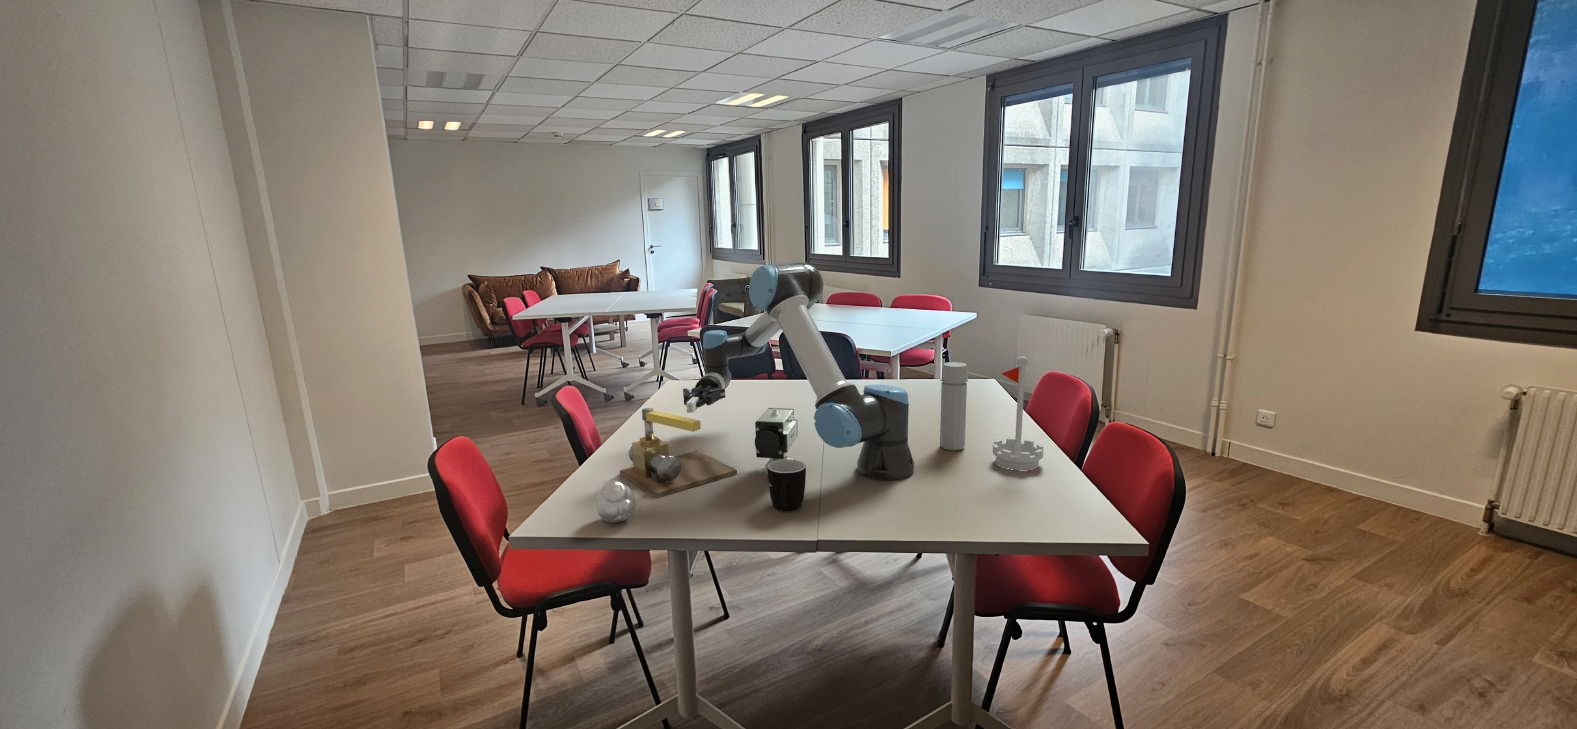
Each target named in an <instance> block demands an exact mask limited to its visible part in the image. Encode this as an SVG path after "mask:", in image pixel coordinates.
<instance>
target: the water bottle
mask: <svg viewBox="0 0 1577 729" xmlns="http://www.w3.org/2000/svg"><path fill="white" fill-rule="evenodd" d="M968 377H969V376H968V364H966V363H965V362H959V361H958V362H956V361H955V362H954V361H950V362H944V363H943V367H942V374H941V379H939V380H940V382H941V388H940V391H941V392H940V397H941V398H940V430H939V445H940V447H941V448H942V449H944V450H947V451H952V452H953V451H954V452H955V451H961V450H963V449H964V448H965V447H966V423H967V422H966V421H967V420H966V418H967V416H966V415H967V393H968V391H967V390H968V389H967V388H968V383H967V382H969V378H968Z"/></svg>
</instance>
